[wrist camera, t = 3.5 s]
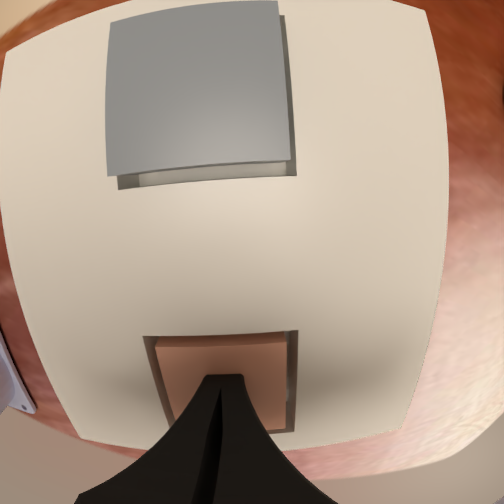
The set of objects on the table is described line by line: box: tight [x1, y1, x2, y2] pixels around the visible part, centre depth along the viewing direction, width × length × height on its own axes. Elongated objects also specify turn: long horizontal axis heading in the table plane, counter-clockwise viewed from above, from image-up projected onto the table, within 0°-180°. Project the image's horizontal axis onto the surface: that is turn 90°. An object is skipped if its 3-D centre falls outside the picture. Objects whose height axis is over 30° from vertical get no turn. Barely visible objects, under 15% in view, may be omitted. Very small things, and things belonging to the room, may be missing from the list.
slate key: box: [105, 0, 291, 177], centre depth 7 cm, size 4×4×2 cm
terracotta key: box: [155, 331, 287, 430], centre depth 11 cm, size 4×4×2 cm
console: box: [0, 0, 449, 451], centre depth 10 cm, size 16×18×3 cm
